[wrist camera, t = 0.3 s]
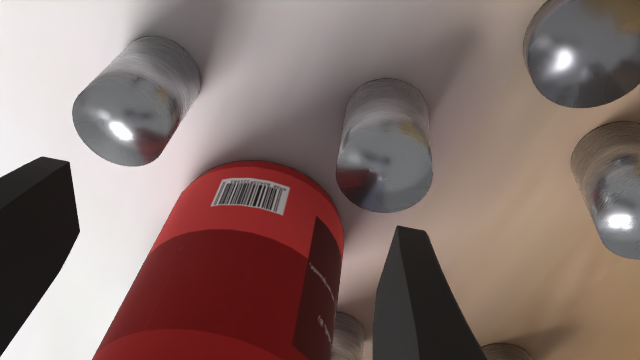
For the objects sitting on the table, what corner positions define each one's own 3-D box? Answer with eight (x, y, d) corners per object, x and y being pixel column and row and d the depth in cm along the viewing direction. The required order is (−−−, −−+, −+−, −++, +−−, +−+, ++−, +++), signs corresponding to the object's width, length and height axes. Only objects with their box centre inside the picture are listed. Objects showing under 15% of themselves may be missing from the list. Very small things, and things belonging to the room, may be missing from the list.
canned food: (144, 202, 26) (12, 423, 17) (274, 122, 22) (192, 346, 14) (250, 300, 29) (184, 528, 20) (378, 243, 26) (366, 488, 17)
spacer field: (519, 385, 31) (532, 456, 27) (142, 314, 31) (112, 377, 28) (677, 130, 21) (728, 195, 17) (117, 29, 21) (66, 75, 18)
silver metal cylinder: (638, 81, 20) (652, 99, 19) (522, 96, 21) (528, 114, 20) (652, -32, 18) (669, -19, 17) (521, -10, 19) (529, 4, 17)
